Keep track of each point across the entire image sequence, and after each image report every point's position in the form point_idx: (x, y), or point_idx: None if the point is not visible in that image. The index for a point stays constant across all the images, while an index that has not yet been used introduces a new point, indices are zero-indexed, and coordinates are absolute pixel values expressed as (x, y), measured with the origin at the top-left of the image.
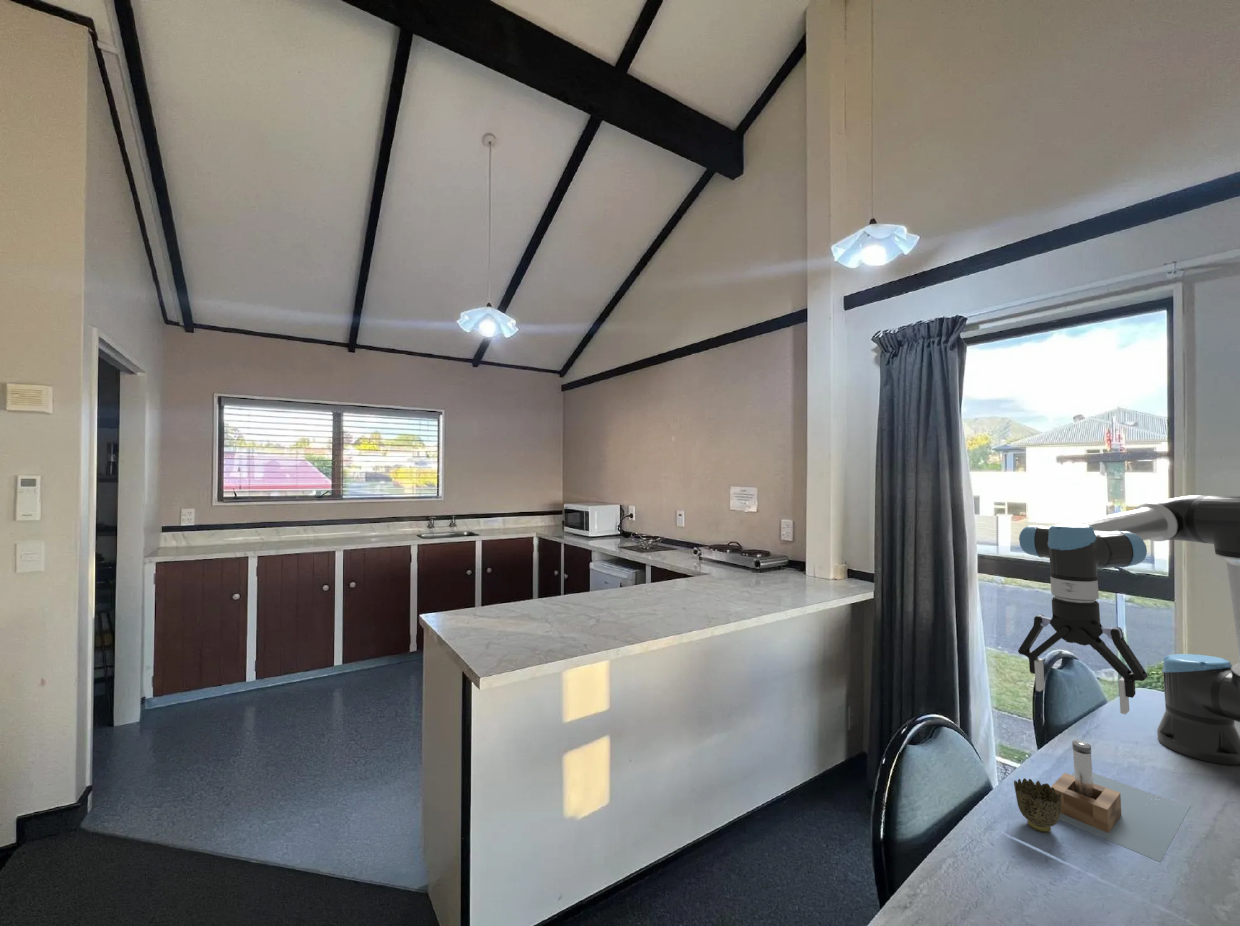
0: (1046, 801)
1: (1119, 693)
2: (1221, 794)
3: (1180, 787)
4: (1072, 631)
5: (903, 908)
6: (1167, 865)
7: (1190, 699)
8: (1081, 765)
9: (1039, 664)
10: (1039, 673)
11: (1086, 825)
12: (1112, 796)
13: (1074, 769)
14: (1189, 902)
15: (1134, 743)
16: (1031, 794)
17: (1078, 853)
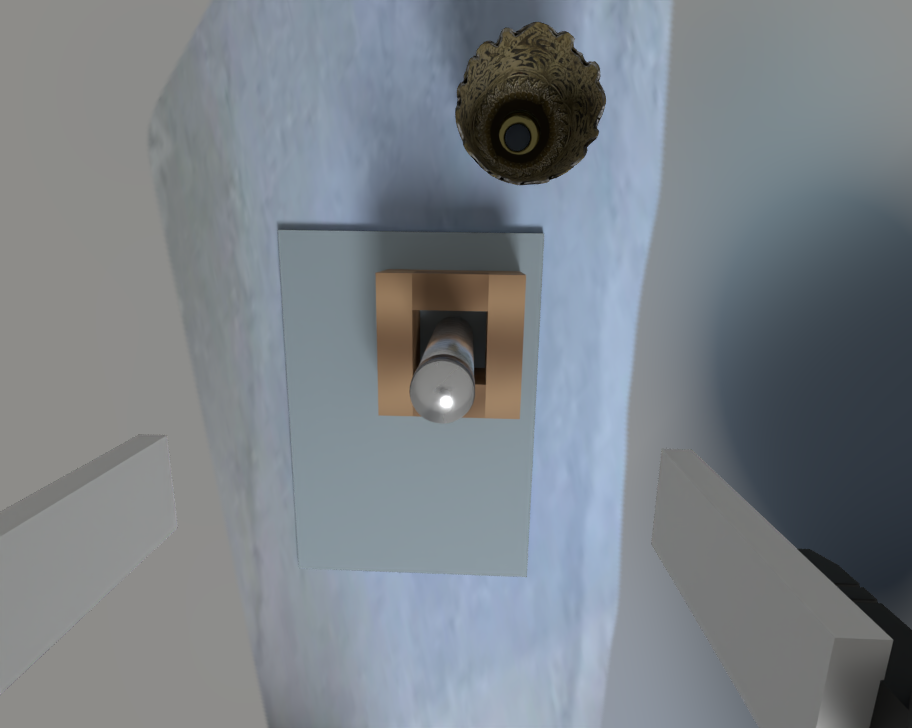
0: (484, 43)
1: (46, 504)
2: (274, 688)
3: (337, 659)
4: None
5: None
6: (269, 239)
7: None
8: (443, 343)
9: (796, 628)
10: (735, 540)
11: (434, 261)
12: (387, 374)
13: (470, 351)
14: (202, 107)
15: None
16: (555, 170)
17: (415, 100)
